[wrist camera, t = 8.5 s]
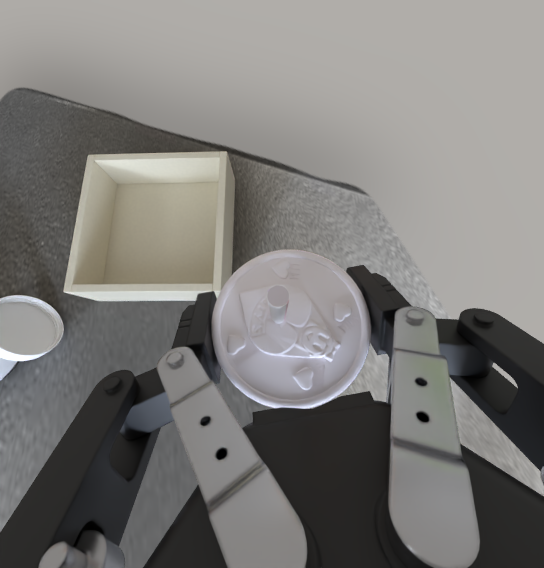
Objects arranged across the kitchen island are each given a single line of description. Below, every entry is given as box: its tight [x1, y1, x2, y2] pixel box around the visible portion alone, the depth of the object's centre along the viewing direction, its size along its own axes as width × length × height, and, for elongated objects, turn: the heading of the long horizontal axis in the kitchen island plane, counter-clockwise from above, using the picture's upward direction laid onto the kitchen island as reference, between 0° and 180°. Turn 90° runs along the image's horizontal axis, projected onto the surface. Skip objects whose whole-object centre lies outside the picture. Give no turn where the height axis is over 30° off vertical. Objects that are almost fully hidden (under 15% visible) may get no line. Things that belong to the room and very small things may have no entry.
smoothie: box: [211, 249, 371, 409], centre depth 13 cm, size 6×6×14 cm
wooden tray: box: [63, 151, 235, 301], centre depth 30 cm, size 16×16×5 cm
